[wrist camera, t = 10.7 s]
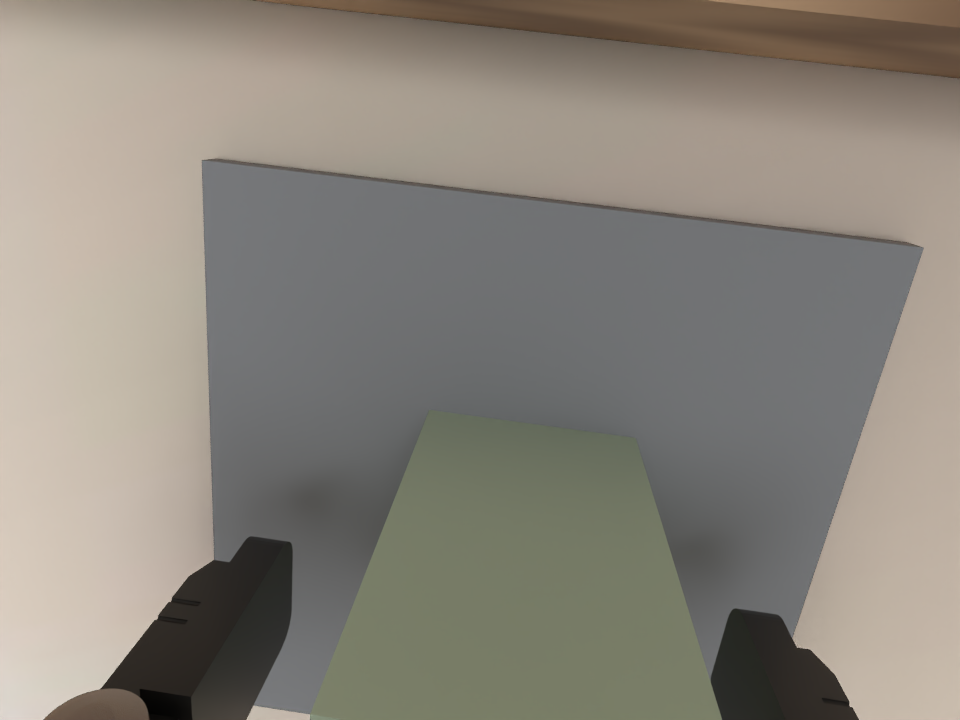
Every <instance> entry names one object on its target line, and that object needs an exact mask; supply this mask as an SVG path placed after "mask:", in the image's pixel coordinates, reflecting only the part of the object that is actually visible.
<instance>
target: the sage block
mask: <svg viewBox="0 0 960 720" xmlns="http://www.w3.org/2000/svg"><path fill="white" fill-rule="evenodd" d="M310 720H722V718H721V714H720V711H719V708H718V705H717V701H716V698H715V695H714V692H713V688H712V685H711V682H710V679H709V675H708V672H707V669H706V666H705V662H704V659H703V656H702V652H701V649H700V646H699V643H698V639H697V636H696V633H695V630H694V626H693V623H692V620H691V617H690V613H689V610H688V607H687V604H686V600H685V597H684V594H683V591H682V587H681V584H680V581H679V578H678V574H677V571H676V568H675V565H674V561H673V558H672V555H671V552H670V548H669V545H668V542H667V539H666V535H665V532H664V529H663V525H662V522H661V519H660V516H659V512H658V509H657V506H656V503H655V499H654V496H653V493H652V490H651V486H650V483H649V480H648V477H647V473H646V470H645V467H644V464H643V460H642V457H641V454H640V451H639V447H638V444H637V441H636V438H632V437H625V436H618V435H610V434H603V433H596V432H588V431H581V430H574V429H566V428H559V427H552V426H544V425H537V424H530V423H522V422H515V421H508V420H500V419H493V418H485V417H478V416H471V415H463V414H456V413H449V412H441V411H434V410H429V412H428V415H427V417H426V420H425V422H424V425H423V427H422V430H421V433H420V435H419V438H418V440H417V443H416V445H415V448H414V450H413V453H412V455H411V458H410V461H409V463H408V466H407V468H406V471H405V473H404V476H403V478H402V481H401V484H400V486H399V489H398V491H397V494H396V496H395V499H394V501H393V504H392V507H391V509H390V512H389V514H388V517H387V519H386V522H385V524H384V527H383V530H382V532H381V535H380V537H379V540H378V542H377V545H376V547H375V550H374V552H373V555H372V558H371V560H370V563H369V565H368V568H367V570H366V573H365V575H364V578H363V581H362V583H361V586H360V588H359V591H358V593H357V596H356V598H355V601H354V604H353V606H352V609H351V611H350V614H349V616H348V619H347V621H346V624H345V627H344V629H343V632H342V634H341V637H340V639H339V642H338V644H337V647H336V649H335V652H334V655H333V657H332V660H331V662H330V665H329V667H328V670H327V672H326V675H325V678H324V680H323V683H322V685H321V688H320V690H319V693H318V695H317V698H316V701H315V703H314V706H313V708H312V711H311V713H310Z"/></svg>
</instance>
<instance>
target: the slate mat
mask: <svg viewBox="0 0 960 720" xmlns="http://www.w3.org/2000/svg"><path fill="white" fill-rule="evenodd" d="M202 181H203V213H204V245H205V277H206V309H207V341H208V373H209V405H210V437H211V469H212V501H213V533H214V560H218V561H225V562H230V561H231V559H232V558H233V557H234V555H235V554H236V552H237V551H238V550H239V548H240V547H241V545H242V544H243V543H244V541H245V540H246V539H247V538H248V537H250V536H254V537H261V538H268V539H275V540H281V541H288V542H291V544H292V549H293V569H292V613H291V620H290V625H289V629H288V633H287V636H286V639H285V642H284V644H283V646H282V649H281V651H280V653H279V655H278V657H277V659H276V661H275V663H274V665H273V667H272V669H271V671H270V673H269V675H268V677H267V679H266V681H265V683H264V685H263V687H262V689H261V691H260V693H259V695H258V697H257V699H256V701H255V703H254V706H261V707H267V708H273V709H280V710H286V711H292V712H299V713H305V714H310V713H311V711H312V708H313V706H314V703H315V701H316V698H317V695H318V693H319V690H320V688H321V685H322V683H323V680H324V678H325V675H326V672H327V670H328V667H329V665H330V662H331V660H332V657H333V655H334V652H335V649H336V647H337V644H338V642H339V639H340V637H341V634H342V632H343V629H344V627H345V624H346V621H347V619H348V616H349V614H350V611H351V609H352V606H353V604H354V601H355V598H356V596H357V593H358V591H359V588H360V586H361V583H362V581H363V578H364V575H365V573H366V570H367V568H368V565H369V563H370V560H371V558H372V555H373V552H374V550H375V547H376V545H377V542H378V540H379V537H380V535H381V532H382V530H383V527H384V524H385V522H386V519H387V517H388V514H389V512H390V509H391V507H392V504H393V501H394V499H395V496H396V494H397V491H398V489H399V486H400V484H401V481H402V478H403V476H404V473H405V471H406V468H407V466H408V463H409V461H410V458H411V455H412V453H413V450H414V448H415V445H416V443H417V440H418V438H419V435H420V433H421V430H422V427H423V425H424V422H425V420H426V417H427V415H428V412H429V410H434V411H441V412H449V413H456V414H463V415H471V416H478V417H485V418H493V419H500V420H508V421H515V422H522V423H530V424H537V425H544V426H552V427H559V428H566V429H574V430H581V431H588V432H596V433H603V434H610V435H618V436H625V437H632V438H636V441H637V444H638V447H639V451H640V454H641V457H642V460H643V464H644V467H645V470H646V473H647V477H648V480H649V483H650V486H651V490H652V493H653V496H654V499H655V503H656V506H657V509H658V512H659V516H660V519H661V522H662V525H663V529H664V532H665V535H666V539H667V542H668V545H669V548H670V552H671V555H672V558H673V561H674V565H675V568H676V571H677V574H678V578H679V581H680V584H681V587H682V591H683V594H684V597H685V600H686V604H687V607H688V610H689V613H690V617H691V620H692V623H693V626H694V630H695V633H696V636H697V639H698V643H699V646H700V649H701V652H702V656H703V659H704V662H705V666H706V669H707V672H708V675H709V679H710V680H711V675H712V671H713V667H714V664H715V661H716V657H717V654H718V650H719V647H720V643H721V640H722V637H723V633H724V630H725V626H726V623H727V619H728V617H729V614H730V612H731V611H732V610H733V609H735V608H737V609H744V610H751V611H758V612H764V613H771V614H777V615H779V616H780V617H781V618H782V619H783V621H784V623H785V625H786V627H787V629H788V631H789V633H790V635H791V637H793V634H794V631H795V628H796V625H797V622H798V619H799V616H800V613H801V610H802V608H803V605H804V602H805V599H806V596H807V593H808V590H809V587H810V584H811V581H812V578H813V575H814V572H815V569H816V566H817V563H818V560H819V557H820V554H821V551H822V548H823V545H824V542H825V539H826V536H827V533H828V530H829V527H830V524H831V521H832V518H833V516H834V513H835V510H836V507H837V504H838V501H839V498H840V495H841V492H842V489H843V486H844V483H845V480H846V477H847V474H848V471H849V468H850V465H851V462H852V459H853V456H854V453H855V450H856V447H857V444H858V441H859V438H860V435H861V432H862V429H863V426H864V424H865V421H866V418H867V415H868V412H869V409H870V406H871V403H872V400H873V397H874V394H875V391H876V388H877V385H878V382H879V379H880V376H881V373H882V370H883V367H884V364H885V361H886V358H887V355H888V352H889V349H890V346H891V343H892V340H893V337H894V334H895V332H896V329H897V326H898V323H899V320H900V317H901V314H902V311H903V308H904V305H905V302H906V299H907V296H908V293H909V290H910V287H911V284H912V281H913V278H914V275H915V272H916V269H917V266H918V263H919V260H920V257H921V254H922V251H923V247H920V246H917V245H913V244H910V243H907V242H899V241H890V240H882V239H874V238H866V237H857V236H849V235H841V234H833V233H824V232H816V231H808V230H800V229H791V228H783V227H775V226H767V225H758V224H750V223H742V222H734V221H725V220H717V219H709V218H700V217H692V216H684V215H676V214H667V213H659V212H651V211H643V210H634V209H626V208H618V207H610V206H601V205H593V204H585V203H577V202H568V201H560V200H552V199H544V198H535V197H527V196H519V195H511V194H502V193H494V192H486V191H478V190H469V189H461V188H453V187H445V186H436V185H428V184H420V183H412V182H403V181H395V180H387V179H378V178H370V177H362V176H354V175H345V174H337V173H329V172H321V171H312V170H304V169H296V168H288V167H279V166H271V165H263V164H255V163H246V162H238V161H230V160H222V159H209V160H202Z"/></svg>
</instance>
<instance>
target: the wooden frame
mask: <svg viewBox="0 0 960 720" xmlns="http://www.w3.org/2000/svg"><path fill="white" fill-rule="evenodd" d="M254 1H263V2H272V3H281V4H290V5H299V6H308V7H317V8H326V9H336V10H345V11H354V12H363V13H372V14H381V15H390V16H399V17H408V18H417V19H426V20H435V21H444V22H454V23H463V24H472V25H481V26H490V27H499V28H508V29H517V30H526V31H535V32H544V33H553V34H563V35H572V36H581V37H590V38H599V39H608V40H617V41H626V42H635V43H644V44H653V45H662V46H671V47H681V48H690V49H699V50H708V51H717V52H726V53H735V54H744V55H753V56H762V57H771V58H780V59H790V60H799V61H808V62H817V63H826V64H835V65H844V66H853V67H862V68H871V69H880V70H889V71H899V72H908V73H917V74H926V75H935V76H944V77H953V78H960V0H254Z"/></svg>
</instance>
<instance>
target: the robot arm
mask: <svg viewBox="0 0 960 720" xmlns="http://www.w3.org/2000/svg"><path fill="white" fill-rule="evenodd" d="M292 569H293V549H292V544H291V542H288V541H281V540H275V539H268V538H261V537H254V536H250V537H248V538H247V539H246V540H245V541H244V543H243V544H242V545H241V547H240V548H239V550H238V551H237V552H236V554H235V555H234V557H233V558H232V559H231V561H230V562H225V561H218V560H213V561H212V562H210V563H209V564H207V565H206V566H204V567H203V568H201V569H200V570H198V571H197V572H195V573H193V574H192V575H190V576H189V577H188V578H187V579H186V581H185V582H184V583H183V585H182V586H181V587H180V588H179V590H178V591H177V592H176V593H175V595H174V596H173V597H172V601H171V602H168V604H167V605H166V606H165V608H164V609H163V610H162V611H161V613H160V614H159V615H158V619H157V620H154V622H153V623H152V624H151V625H150V627H149V628H148V629H147V631H146V632H145V633H144V634H143V636H142V637H141V638H140V640H139V641H138V642H137V643H136V645H135V646H134V647H133V648H132V650H131V651H130V652H129V654H128V655H127V656H126V657H125V659H124V660H123V661H122V663H121V664H120V665H119V666H118V668H117V669H116V670H115V671H114V673H113V674H112V675H111V677H110V678H109V679H108V680H107V682H106V683H105V684H104V686H103V687H102V688H101V689H100V690H95V691H91V692H87V693H85V694H82V695H79V696H77V697H75V698H73V699H70V700H68V701H67V702H65V703H63V704H62V705H60V706H59V707H57V708H56V709H55V710H53V711H52V712H51V713H50V714H49V715H48V716H47V717H46V718H45V719H44V720H246V719H247V717H248V715H249V713H250V711H251V709H252V707H253V705H254V703H255V701H256V699H257V697H258V695H259V693H260V691H261V689H262V687H263V685H264V683H265V681H266V679H267V677H268V675H269V673H270V671H271V669H272V667H273V665H274V663H275V661H276V659H277V657H278V655H279V653H280V651H281V649H282V646H283V644H284V642H285V639H286V636H287V633H288V629H289V625H290V620H291V613H292ZM710 682H711V685H712V688H713V692H714V695H715V698H716V701H717V705H718V708H719V711H720V714H721V718H722V720H859V719H858V717H857V715H856V713H855V712H854V710H853V708H852V707H850V706H849V700H848V699H847V697H846V695H845V693H844V691H843V689H842V687H841V686H840V684H839V682H838V680H837V678H836V676H835V675H834V674H833V673H832V672H831V671H830V670H829V668H828V667H827V666H826V665H825V664H824V663H823V662H822V661H821V660H820V659H819V658H818V657H817V656H816V655H815V654H814V653H813V652H812V651H811V650H808V649H802V648H797V647H796V645H795V643H794V641H793V639H792V637H791V635H790V633H789V631H788V629H787V627H786V625H785V623H784V621H783V619H782V618H781V617H780V616H779V615H777V614H771V613H764V612H758V611H751V610H744V609H737V608H735V609H733V610H732V611H731V612H730V614H729V617H728V619H727V623H726V626H725V630H724V633H723V637H722V640H721V643H720V647H719V650H718V654H717V657H716V661H715V664H714V667H713V671H712V675H711V680H710Z"/></svg>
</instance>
